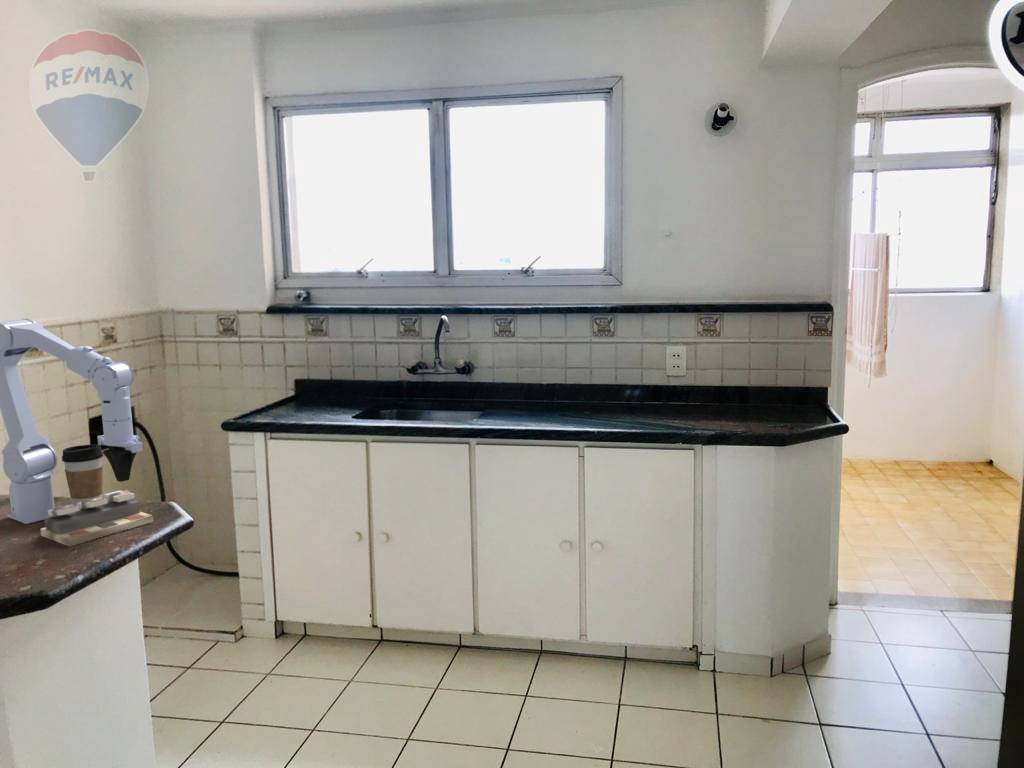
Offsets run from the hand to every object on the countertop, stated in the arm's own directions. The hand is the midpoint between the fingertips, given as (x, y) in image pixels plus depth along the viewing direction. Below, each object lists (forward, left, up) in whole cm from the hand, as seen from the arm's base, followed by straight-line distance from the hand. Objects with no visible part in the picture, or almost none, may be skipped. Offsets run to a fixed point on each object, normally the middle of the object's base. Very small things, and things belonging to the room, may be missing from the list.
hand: (123, 480), depth 179 cm
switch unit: (-1, -6, -9) cm, 11 cm away
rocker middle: (-2, -6, -4) cm, 8 cm away
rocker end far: (-2, 0, -4) cm, 5 cm away
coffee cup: (-16, 0, -10) cm, 18 cm away
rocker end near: (-2, -12, -4) cm, 13 cm away
